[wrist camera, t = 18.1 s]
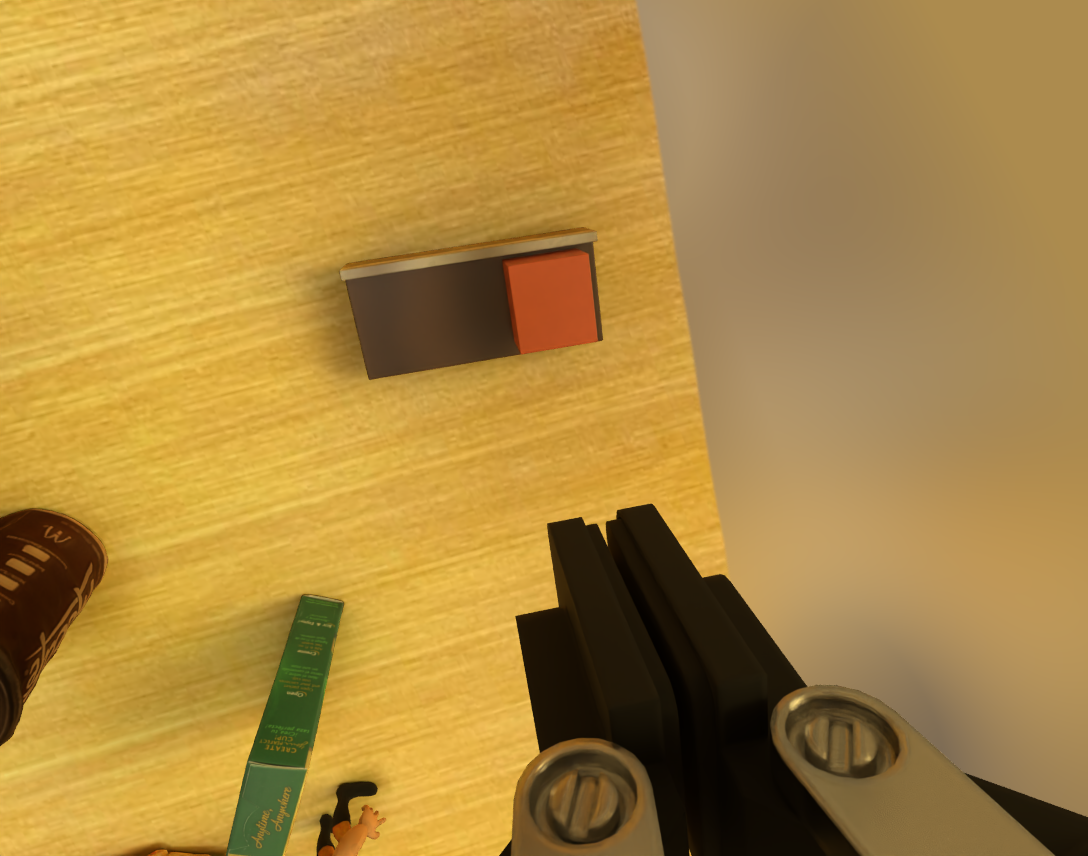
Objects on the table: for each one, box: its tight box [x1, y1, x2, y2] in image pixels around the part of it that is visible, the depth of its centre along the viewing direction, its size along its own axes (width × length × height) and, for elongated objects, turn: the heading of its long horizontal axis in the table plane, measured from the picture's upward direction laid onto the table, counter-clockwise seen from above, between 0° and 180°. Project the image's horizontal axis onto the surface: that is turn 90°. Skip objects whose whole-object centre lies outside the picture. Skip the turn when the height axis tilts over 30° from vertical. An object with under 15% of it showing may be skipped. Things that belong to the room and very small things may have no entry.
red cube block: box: [502, 248, 598, 354], centre depth 35 cm, size 4×4×3 cm
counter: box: [339, 227, 603, 380], centre depth 36 cm, size 13×6×3 cm, turn 98°
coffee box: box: [226, 595, 344, 856], centre depth 38 cm, size 8×3×13 cm, turn 161°
